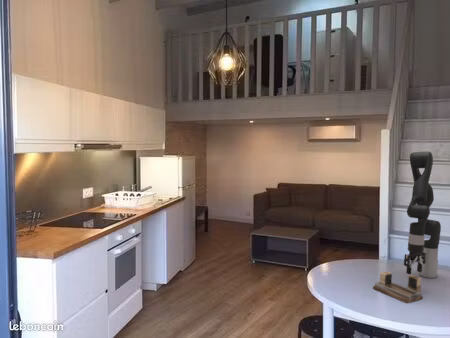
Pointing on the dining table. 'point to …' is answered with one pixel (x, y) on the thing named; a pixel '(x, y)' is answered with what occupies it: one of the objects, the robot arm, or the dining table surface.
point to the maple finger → (414, 283)
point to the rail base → (396, 289)
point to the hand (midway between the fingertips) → (414, 272)
